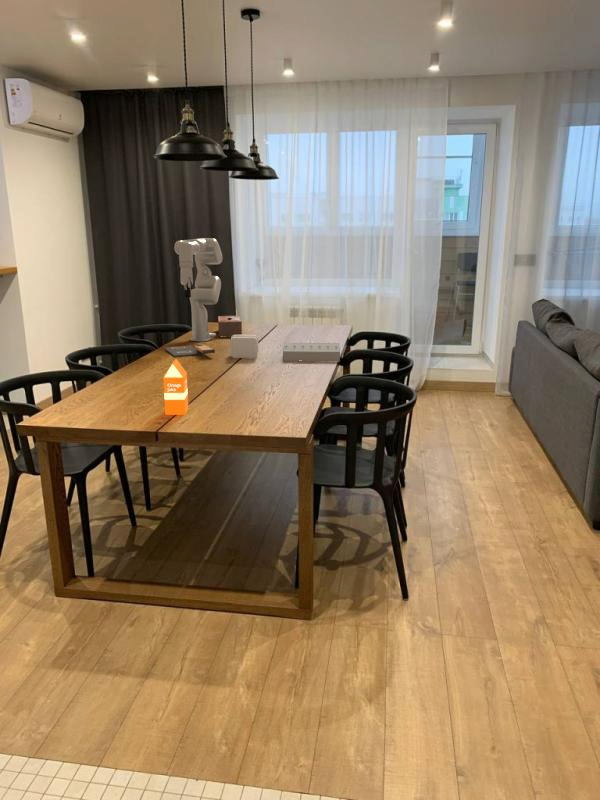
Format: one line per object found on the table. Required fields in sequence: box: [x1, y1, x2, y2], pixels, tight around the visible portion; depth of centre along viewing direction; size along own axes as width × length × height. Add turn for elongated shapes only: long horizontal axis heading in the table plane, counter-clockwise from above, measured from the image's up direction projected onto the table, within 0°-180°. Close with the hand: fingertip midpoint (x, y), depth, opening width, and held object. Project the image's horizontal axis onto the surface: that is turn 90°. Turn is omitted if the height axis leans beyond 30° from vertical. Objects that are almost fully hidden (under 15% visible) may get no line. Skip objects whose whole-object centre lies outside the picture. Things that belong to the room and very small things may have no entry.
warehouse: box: [282, 342, 341, 363], centre depth 336 cm, size 30×14×8 cm, turn 88°
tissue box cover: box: [217, 315, 243, 337], centre depth 409 cm, size 26×14×10 cm, turn 8°
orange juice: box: [162, 358, 189, 416], centre depth 239 cm, size 8×9×20 cm
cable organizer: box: [230, 334, 259, 360], centre depth 338 cm, size 15×11×12 cm
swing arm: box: [194, 343, 216, 355], centre depth 342 cm, size 18×6×2 cm, turn 26°
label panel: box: [163, 345, 204, 358], centre depth 352 cm, size 18×24×2 cm
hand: (187, 297), depth 357 cm, fingers closed
